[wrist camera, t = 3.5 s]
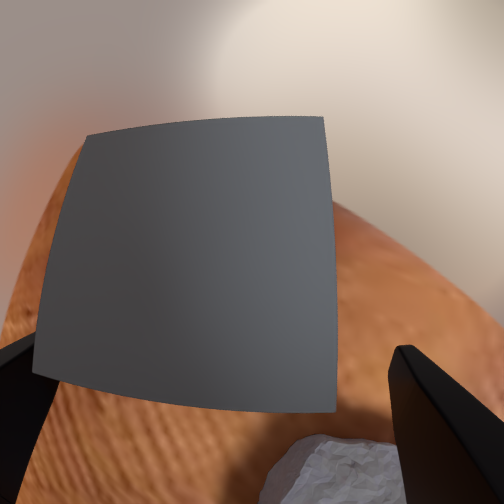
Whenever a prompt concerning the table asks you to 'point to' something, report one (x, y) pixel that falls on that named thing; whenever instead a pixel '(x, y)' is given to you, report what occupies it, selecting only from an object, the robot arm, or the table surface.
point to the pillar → (197, 267)
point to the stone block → (335, 473)
